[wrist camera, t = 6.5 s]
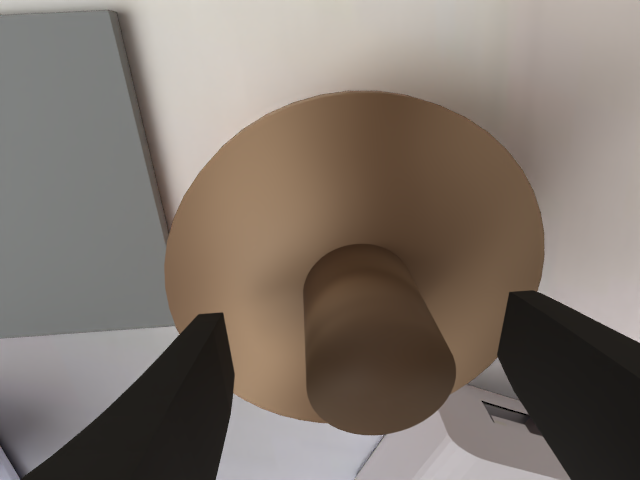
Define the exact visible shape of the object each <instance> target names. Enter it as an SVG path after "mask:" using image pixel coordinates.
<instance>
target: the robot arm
mask: <svg viewBox="0 0 640 480" xmlns="http://www.w3.org/2000/svg"><path fill="white" fill-rule="evenodd" d="M497 356H498V358H499V360H500V363H501V365H502V367H503V369H504V372H505V374H506V376H507V378H508V380H509V382H510V384H511V386H512V388H513V390H514V392H515V393H516V395H517V397H518V398H519V400H520V402H521V403H522V405H523V406H524V408H525V409H526V411H527V413H528V414H529V416H530V417H531V419H532V420H533V422H534V424H535V425H536V427H537V428H538V430H539V431H540V433H541V434H542V436H543V437H544V439H545V441H546V442H547V444H548V445H549V447H550V448H551V450H552V451H553V453H554V454H555V456H556V457H557V459H558V461H559V462H560V464H561V465H562V467H563V468H564V470H565V471H566V473H567V474H568V476H569V478H570V479H571V480H640V343H639V342H637V341H635V340H633V339H631V338H629V337H627V336H625V335H623V334H621V333H619V332H617V331H615V330H613V329H611V328H609V327H607V326H605V325H603V324H601V323H599V322H597V321H595V320H593V319H591V318H589V317H587V316H585V315H583V314H581V313H580V312H578V311H576V310H574V309H572V308H570V307H568V306H566V305H564V304H562V303H560V302H558V301H556V300H554V299H552V298H550V297H548V296H545V295H543V294H541V293H538V292H536V291H534V290H529V291H515V292H509V296H508V301H507V306H506V311H505V316H504V321H503V326H502V331H501V336H500V341H499V347H498V352H497ZM234 379H235V372H234V367H233V362H232V356H231V351H230V346H229V340H228V335H227V330H226V324H225V319H224V314H223V312H220V313H206V314H198V315H197V316H196V317H195V318H194V319H193V320H192V322H191V323H190V324H189V325H188V326H187V327H186V328H185V329H184V330H183V331H182V332H181V334H180V335H179V336H178V337H177V338H176V339H175V340H174V341H173V342H172V343H171V345H170V346H169V347H168V348H167V349H166V350H165V351H164V352H163V353H162V354H161V355H160V356H159V358H158V359H157V360H156V361H155V362H154V363H153V364H152V365H151V366H150V367H149V368H148V369H147V370H146V371H145V372H144V373H143V374H142V375H141V376H140V377H139V378H138V379H137V380H136V381H135V382H134V383H133V384H132V385H131V386H130V387H129V388H128V389H127V390H126V391H125V392H124V393H123V394H122V395H121V396H120V397H119V398H118V399H117V400H116V401H115V402H114V403H113V404H112V405H111V406H110V407H109V408H107V409H106V410H105V411H104V412H103V413H102V414H101V415H100V416H99V417H97V418H96V419H95V420H94V421H93V422H92V423H91V424H89V425H88V426H87V427H86V428H85V429H84V430H82V431H81V432H80V433H79V434H78V435H76V436H75V437H74V438H73V439H72V440H70V441H69V442H68V443H67V444H66V445H64V446H63V447H62V448H61V449H60V450H58V451H57V452H56V453H55V454H53V455H52V456H51V457H50V458H48V459H47V460H46V461H44V462H43V463H42V464H40V465H39V466H38V467H36V468H35V469H34V470H32V471H31V472H30V473H28V474H27V475H26V476H24V477H23V478H22V479H20V478H19V476H18V475H17V473H16V471H15V470H14V468H13V466H12V465H11V463H10V461H9V460H8V458H7V456H6V455H5V453H4V451H3V450H2V448H1V446H0V480H216V476H217V472H218V467H219V463H220V459H221V454H222V450H223V446H224V441H225V437H226V433H227V428H228V424H229V419H230V415H231V407H232V399H233V389H234Z"/></svg>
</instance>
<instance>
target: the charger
mask: <svg viewBox="0 0 640 480" xmlns="http://www.w3.org/2000/svg"><path fill="white" fill-rule="evenodd" d="M482 401H484V402H488V403H491V404H495V405H498V406H501V407H505V408H508V409H511V410H515V411H518V412H521V413H525V414H528V413H527V411H526V409H525V408H524V406H523V405H522V403H521V402H520V401H519V400H516V399H513V398H509V397H506V396H503V395H499V394H496V393H493V392H490V391H486V390H483V389H480V388H477V387H473V386H470V385H467V384H466V385H464V386H463V387H461V388H460V389H459V390H457V391H455V392H454V393H452V394H450V395H449V397H448V399H447V400H446V401H445V403H444V404H443V405H442V406H441V407H440V408H439V409H438V411H436V412H435V413H434V414H433V415H432V416H430V417H429V418H427V419H426V420H424V421H423V422H421V423H419V424H417V425H415V426H413V427H411V428H408V429H405V430H402V431H399V432H395V433H391V434H386V435H385V436H384V438H383V439H382V441H381V442H380V443H379V445H378V446H377V448H376V449H375V451H374V452H373V453H372V455H371V456H370V458H369V459H368V460H367V462H366V463H365V465H364V466H363V467H362V469H361V470H360V472H359V473H358V474H357V476H356V477H355V479H354V480H571V479H570V478H569V476H568V474H567V473H566V471H565V470H564V468H563V467H562V465H561V464H560V462H559V461H558V459H557V457H556V456H555V454H554V453H553V451H552V450H551V448H550V447H549V445H548V444H547V442H546V441H545V439H544V437H543V436H542V434H541V433H540V431H539V430H538V428H537V427H536V425H535V424H534V422H533V421H532V419H531V417H528V416H525V415H522V414H518V413H515V412H512V411H508V410H505V409H501V408H498V407H495V406H491V405H488V404H485V403H482ZM528 415H529V414H528Z"/></svg>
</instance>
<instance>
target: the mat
mask: <svg viewBox="0 0 640 480" xmlns="http://www.w3.org/2000/svg"><path fill="white" fill-rule="evenodd" d="M168 237H169V232H168V228H167V224H166V220H165V215H164V211H163V207H162V203H161V198H160V194H159V190H158V186H157V182H156V177H155V173H154V169H153V165H152V160H151V156H150V152H149V148H148V144H147V139H146V135H145V131H144V127H143V122H142V118H141V114H140V110H139V106H138V101H137V97H136V93H135V89H134V85H133V80H132V76H131V72H130V68H129V63H128V59H127V55H126V51H125V47H124V42H123V38H122V34H121V30H120V25H119V21H118V17H117V13H116V12H114V11H110V10H99V11H78V12H57V13H35V14H14V15H0V339H1V338H15V337H29V336H43V335H57V334H71V333H84V332H98V331H112V330H126V329H140V328H154V327H168V326H175V323H174V320H173V317H172V315H171V312H170V309H169V305H168V300H167V295H166V290H165V273H164V263H165V254H166V246H167V240H168Z"/></svg>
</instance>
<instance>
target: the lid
mask: <svg viewBox="0 0 640 480" xmlns="http://www.w3.org/2000/svg"><path fill="white" fill-rule="evenodd" d="M543 262H544V230H543V224H542V218H541V212H540V209H539V206H538V203H537V200H536V197H535V194H534V191H533V189H532V187H531V185H530V183H529V182H528V180H527V178H526V176H525V174H524V172H523V170H522V169H521V168H520V166H519V165H518V164H517V162H516V161H515V160H514V158H513V157H512V156H511V154H510V153H509V152H508V151H507V150H506V149H505V148H504V147H503V146H502V145H501V144H500V143H499V142H498V141H497V140H496V139H495V138H494V137H493V136H492V135H490V134H489V133H488V132H487V131H485V130H484V129H482V128H481V127H479V126H478V125H476V124H475V123H473V122H472V121H470V120H469V119H467V118H466V117H464V116H461V115H459V114H457V113H455V112H453V111H451V110H449V109H447V108H444V107H442V106H440V105H437V104H434V103H431V102H428V101H424V100H421V99H418V98H414V97H411V96H407V95H403V94H396V93H389V92H382V91H343V92H336V93H329V94H322V95H318V96H314V97H311V98H307V99H304V100H300V101H297V102H293V103H291V104H289V105H286V106H284V107H282V108H280V109H277V110H275V111H273V112H271V113H268V114H266V115H265V116H263V117H262V118H260V119H258V120H257V121H255V122H253V123H252V124H250V125H249V126H247V127H245V128H244V129H243V130H241V131H240V132H239V133H238V134H237V135H235V136H234V137H233V138H232V139H231V140H229V141H228V142H227V143H226V144H225V145H223V146H222V147H221V149H220V150H219V151H218V152H217V153H216V154H215V155H214V156H213V158H212V159H211V160H210V161H209V162H208V163H207V164H206V165H205V167H204V168H203V169H202V170H201V171H200V173H199V174H198V175H197V177H196V178H195V180H194V182H193V183H192V185H191V186H190V188H189V189H188V191H187V192H186V194H185V195H184V197H183V199H182V201H181V204H180V206H179V208H178V210H177V212H176V215H175V217H174V219H173V222H172V226H171V229H170V233H169V237H168V240H167V246H166V254H165V263H164V273H165V290H166V295H167V300H168V305H169V309H170V312H171V315H172V317H173V320H174V323H175V326H176V328H177V330H178V332H179V334H181V332H182V331H183V330H184V329H185V328H186V327H187V326H188V325H189V324H190V323H191V322H192V320H193V319H194V318H195V317H196V316H197V315H198V314H206V313H220V312H223V314H224V319H225V324H226V330H227V335H228V340H229V346H230V351H231V356H232V362H233V367H234V372H235V379H234V389H233V393H234V394H236V395H237V396H239V397H240V398H242V399H244V400H245V401H247V402H250V403H252V404H254V405H256V406H258V407H260V408H262V409H265V410H268V411H270V412H273V413H276V414H279V415H282V416H286V417H290V418H294V419H298V420H304V421H311V422H318V423H328V424H330V425H331V426H334V427H336V428H338V429H340V430H343V431H346V432H349V433H354V434H360V435H384V434H391V433H395V432H399V431H402V430H405V429H408V428H411V427H413V426H415V425H417V424H419V423H421V422H423V421H424V420H426V419H427V418H429V417H430V416H432V415H433V414H434V413H435V412H436V411H438V409H439V408H440V407H441V406H442V405H443V404H444V403H445V401H446V400H447V399H448V397H449V395H450V394H452V393H454V392H455V391H457V390H459V389H460V388H461V387H463V386H464V385H466V384H467V383H469V382H470V381H472V380H473V379H474V378H476V377H477V376H478V375H479V374H480V373H482V372H483V371H484V370H485V369H486V368H487V367H489V366H490V365H491V364H492V363H493V362H494V361H495V359H496V358H497V357H498V356H497V352H498V347H499V341H500V336H501V331H502V326H503V321H504V316H505V311H506V306H507V301H508V296H509V292H515V291H529V290H534V291H536V292H537V290H538V287H539V284H540V280H541V276H542V269H543Z"/></svg>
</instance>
